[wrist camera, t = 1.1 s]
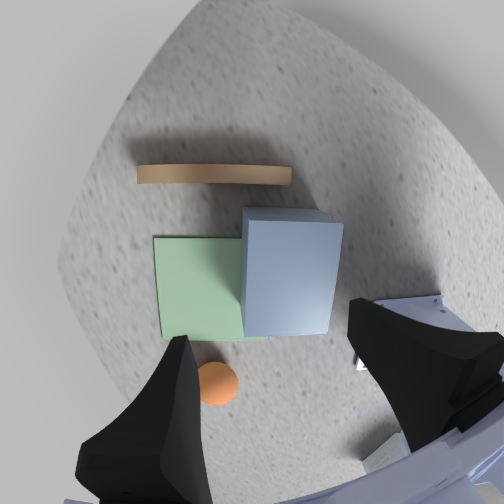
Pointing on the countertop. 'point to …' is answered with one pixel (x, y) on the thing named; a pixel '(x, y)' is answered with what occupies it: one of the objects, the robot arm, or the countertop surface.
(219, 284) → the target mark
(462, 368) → the robot arm
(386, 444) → the small box
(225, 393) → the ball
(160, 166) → the wall
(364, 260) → the countertop surface
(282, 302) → the grey-blue rectangular brick
